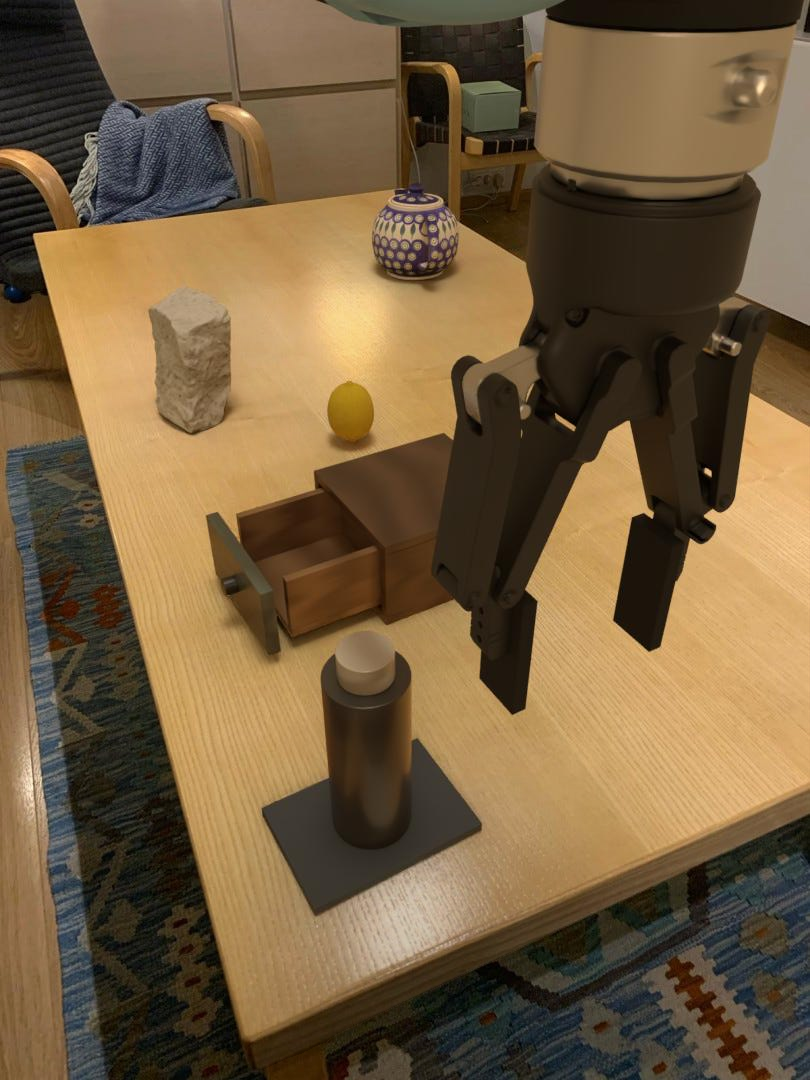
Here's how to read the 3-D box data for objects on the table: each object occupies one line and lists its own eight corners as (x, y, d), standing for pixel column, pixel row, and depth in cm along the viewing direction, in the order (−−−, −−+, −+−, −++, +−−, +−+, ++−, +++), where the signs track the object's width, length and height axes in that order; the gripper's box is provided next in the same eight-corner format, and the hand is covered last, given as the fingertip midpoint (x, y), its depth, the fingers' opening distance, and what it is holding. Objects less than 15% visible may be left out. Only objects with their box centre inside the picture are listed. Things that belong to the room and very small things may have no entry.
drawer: (255, 661, 74) (246, 599, 70) (203, 578, 83) (192, 518, 79) (406, 604, 80) (405, 544, 76) (342, 532, 89) (338, 475, 85)
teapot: (473, 293, 146) (477, 201, 137) (385, 299, 143) (383, 206, 135) (441, 246, 165) (442, 163, 157) (362, 251, 163) (360, 167, 154)
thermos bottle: (354, 863, 59) (344, 697, 49) (319, 803, 63) (303, 639, 53) (426, 827, 61) (429, 662, 52) (387, 771, 65) (383, 608, 56)
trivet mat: (315, 916, 57) (314, 909, 56) (262, 814, 63) (260, 807, 63) (481, 830, 62) (482, 823, 61) (417, 744, 68) (417, 737, 68)
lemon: (320, 440, 106) (315, 380, 102) (355, 426, 109) (352, 367, 105) (348, 458, 103) (345, 397, 98) (384, 442, 106) (382, 382, 101)
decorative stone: (140, 413, 112) (118, 303, 103) (195, 387, 118) (178, 281, 109) (194, 437, 107) (175, 324, 98) (248, 409, 113) (235, 300, 104)
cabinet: (386, 625, 79) (384, 547, 74) (319, 543, 89) (313, 470, 84) (519, 574, 85) (526, 498, 80) (442, 503, 95) (443, 432, 90)
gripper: (446, 249, 22) (432, 805, 36) (942, 153, 31) (778, 636, 44) (320, 182, 28) (349, 690, 41) (772, 116, 36) (672, 557, 49)
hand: (571, 661), depth 43 cm, fingers open, 8 cm apart
